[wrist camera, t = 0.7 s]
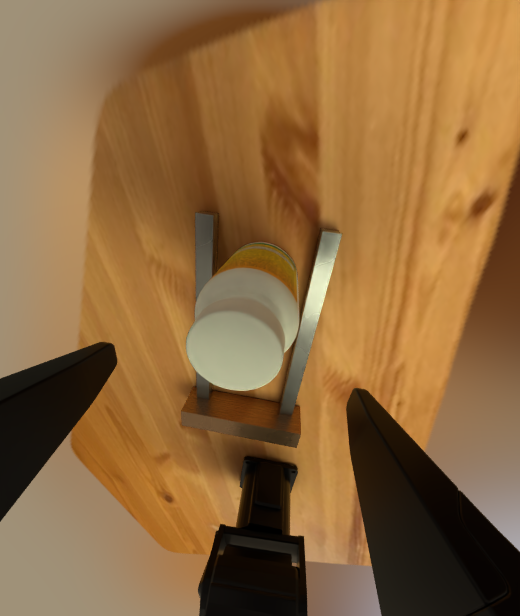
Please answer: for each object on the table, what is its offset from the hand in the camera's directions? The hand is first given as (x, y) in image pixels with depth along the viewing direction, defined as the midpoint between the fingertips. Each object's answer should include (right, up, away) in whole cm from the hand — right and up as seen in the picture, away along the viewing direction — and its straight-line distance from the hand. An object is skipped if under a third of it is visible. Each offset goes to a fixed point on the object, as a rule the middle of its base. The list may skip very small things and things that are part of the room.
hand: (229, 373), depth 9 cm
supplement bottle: (+1, +5, +9) cm, 11 cm away
